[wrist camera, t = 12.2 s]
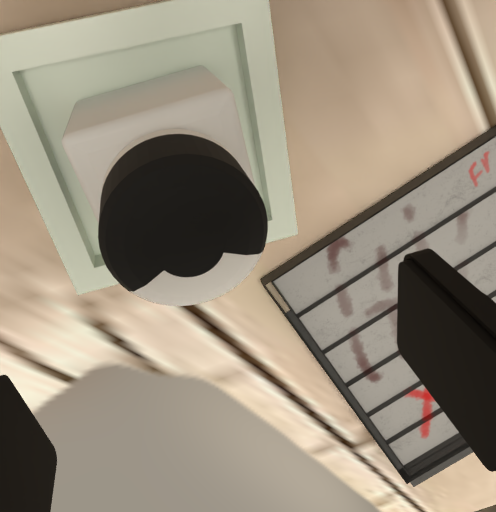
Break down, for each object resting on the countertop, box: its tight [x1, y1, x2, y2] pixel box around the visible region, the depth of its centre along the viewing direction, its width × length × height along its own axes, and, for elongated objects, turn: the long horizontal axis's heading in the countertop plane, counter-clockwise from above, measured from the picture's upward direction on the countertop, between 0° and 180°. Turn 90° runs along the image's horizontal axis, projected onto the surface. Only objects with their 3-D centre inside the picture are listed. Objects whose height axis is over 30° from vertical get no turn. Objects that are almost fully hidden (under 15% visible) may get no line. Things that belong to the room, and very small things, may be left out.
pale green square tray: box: [0, 0, 298, 295], centre depth 26 cm, size 14×14×2 cm
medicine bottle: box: [61, 66, 268, 306], centre depth 21 cm, size 7×7×12 cm
